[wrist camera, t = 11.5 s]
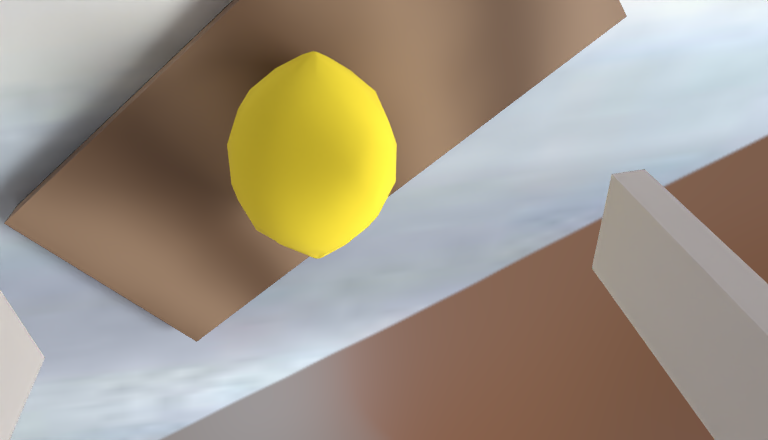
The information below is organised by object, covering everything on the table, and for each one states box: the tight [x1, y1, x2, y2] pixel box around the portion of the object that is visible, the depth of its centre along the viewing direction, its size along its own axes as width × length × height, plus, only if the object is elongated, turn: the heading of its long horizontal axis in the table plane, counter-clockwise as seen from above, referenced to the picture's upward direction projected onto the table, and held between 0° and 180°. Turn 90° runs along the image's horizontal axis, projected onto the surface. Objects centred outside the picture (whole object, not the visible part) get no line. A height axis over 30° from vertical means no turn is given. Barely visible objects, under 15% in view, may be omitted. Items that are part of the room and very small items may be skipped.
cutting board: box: [4, 0, 626, 341], centre depth 20 cm, size 22×9×1 cm, turn 128°
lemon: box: [227, 51, 397, 258], centre depth 18 cm, size 7×5×5 cm
